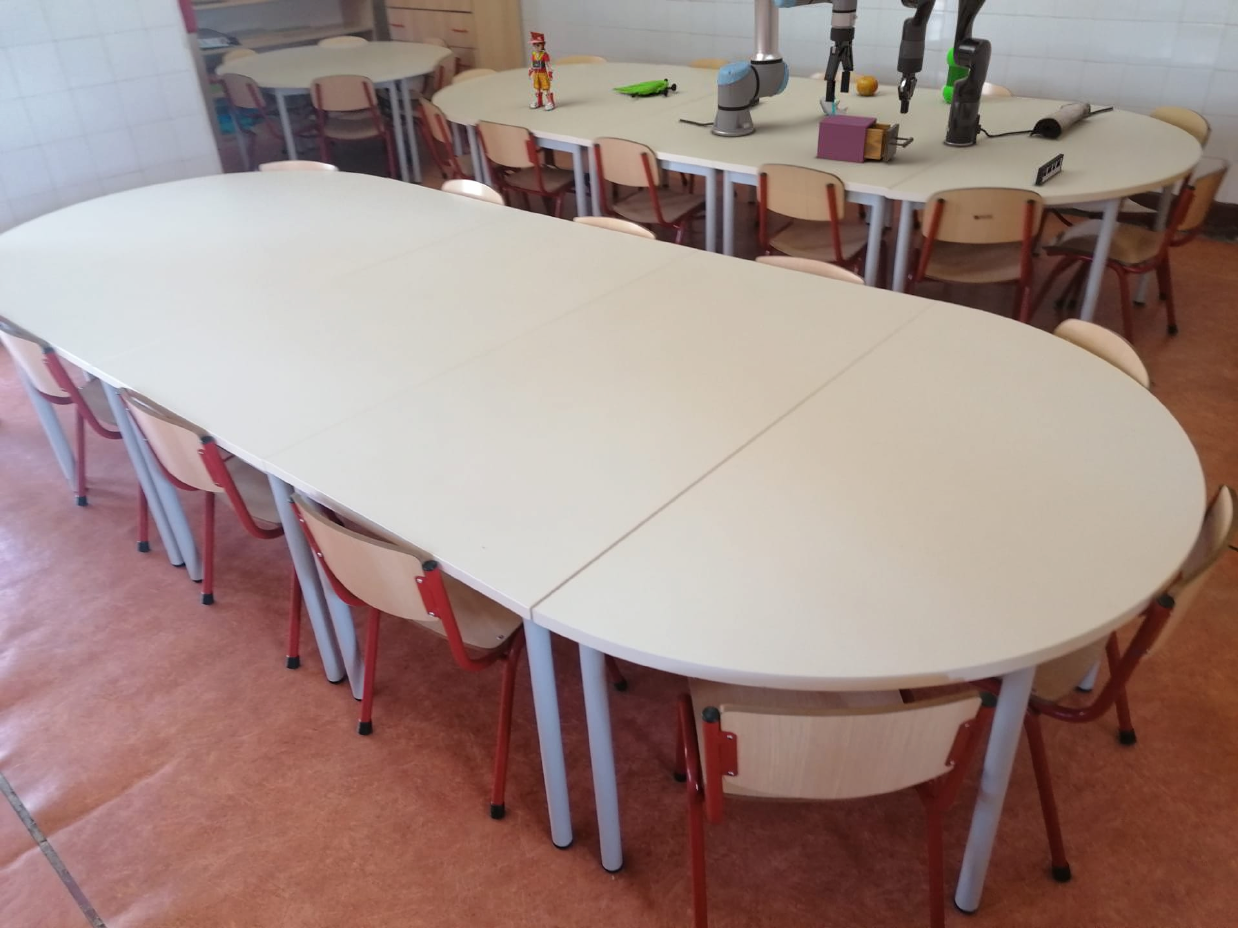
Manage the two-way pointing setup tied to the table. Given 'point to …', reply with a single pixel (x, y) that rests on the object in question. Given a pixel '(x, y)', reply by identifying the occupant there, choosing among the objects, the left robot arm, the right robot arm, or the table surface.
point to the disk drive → (753, 102)
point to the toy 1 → (541, 71)
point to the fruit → (867, 85)
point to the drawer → (883, 141)
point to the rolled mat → (1061, 120)
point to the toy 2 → (648, 88)
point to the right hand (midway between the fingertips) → (903, 113)
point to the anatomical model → (832, 107)
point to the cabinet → (843, 137)
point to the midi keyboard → (1049, 169)
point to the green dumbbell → (953, 76)
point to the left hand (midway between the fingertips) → (837, 97)
